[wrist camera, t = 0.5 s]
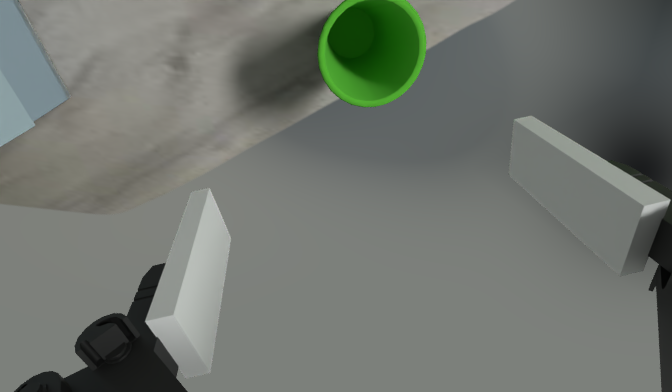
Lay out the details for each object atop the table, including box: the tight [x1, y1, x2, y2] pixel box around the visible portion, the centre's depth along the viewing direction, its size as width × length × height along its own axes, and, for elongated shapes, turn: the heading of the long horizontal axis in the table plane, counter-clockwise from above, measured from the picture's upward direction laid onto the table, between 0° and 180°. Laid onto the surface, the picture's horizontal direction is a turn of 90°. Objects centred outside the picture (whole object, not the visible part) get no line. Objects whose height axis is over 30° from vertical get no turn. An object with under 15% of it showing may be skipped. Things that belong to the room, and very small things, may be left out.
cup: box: [317, 0, 426, 107], centre depth 35 cm, size 9×9×11 cm
